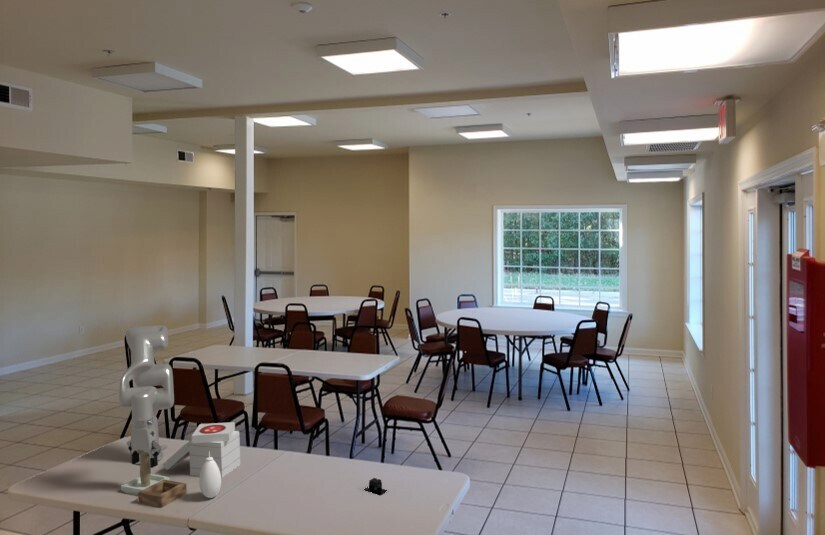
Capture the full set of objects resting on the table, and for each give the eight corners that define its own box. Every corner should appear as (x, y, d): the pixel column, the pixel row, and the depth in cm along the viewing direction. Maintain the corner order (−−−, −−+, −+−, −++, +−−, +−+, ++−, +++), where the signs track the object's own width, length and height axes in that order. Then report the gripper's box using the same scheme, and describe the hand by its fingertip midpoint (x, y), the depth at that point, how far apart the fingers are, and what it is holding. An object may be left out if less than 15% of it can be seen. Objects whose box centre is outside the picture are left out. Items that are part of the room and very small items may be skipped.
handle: (146, 489, 233) (146, 451, 232) (134, 486, 236) (133, 449, 235) (156, 484, 238) (155, 447, 237) (144, 481, 240) (143, 445, 239)
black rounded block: (393, 492, 229) (393, 480, 229) (381, 499, 223) (381, 487, 223) (369, 484, 236) (369, 473, 236) (357, 491, 231) (356, 479, 230)
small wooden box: (164, 489, 234) (163, 479, 234) (186, 493, 230) (186, 483, 230) (138, 502, 223) (138, 492, 223) (161, 507, 219) (161, 497, 218)
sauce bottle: (202, 503, 221) (200, 456, 220) (198, 496, 228) (196, 450, 227) (224, 498, 225) (222, 452, 224) (218, 491, 232) (217, 445, 231)
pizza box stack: (186, 458, 267) (184, 419, 266) (247, 463, 260) (245, 422, 259) (159, 475, 248) (157, 433, 247) (223, 480, 241) (222, 437, 240)
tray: (147, 479, 245) (147, 473, 245) (169, 483, 240) (169, 477, 240) (121, 492, 233) (120, 485, 233) (144, 496, 228) (143, 490, 228)
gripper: (166, 422, 235) (168, 464, 237) (134, 417, 242) (136, 458, 243) (151, 428, 228) (153, 471, 230) (118, 423, 235) (121, 465, 236)
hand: (144, 464), depth 236 cm, fingers open, 9 cm apart
